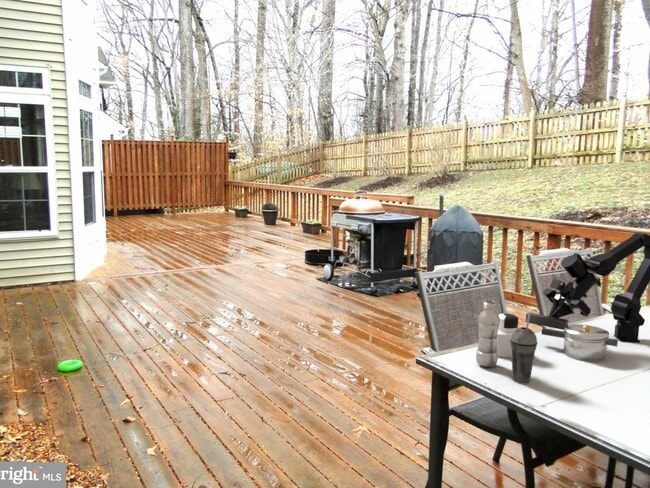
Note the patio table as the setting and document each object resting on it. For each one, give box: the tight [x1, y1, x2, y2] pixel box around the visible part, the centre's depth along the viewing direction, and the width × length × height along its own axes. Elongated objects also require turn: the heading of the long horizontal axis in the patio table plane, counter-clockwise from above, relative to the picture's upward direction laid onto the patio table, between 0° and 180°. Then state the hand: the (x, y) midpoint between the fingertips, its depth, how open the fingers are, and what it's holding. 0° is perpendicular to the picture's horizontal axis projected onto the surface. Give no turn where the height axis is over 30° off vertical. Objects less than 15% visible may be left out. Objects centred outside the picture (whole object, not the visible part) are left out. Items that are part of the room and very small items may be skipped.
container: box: [497, 313, 519, 358], centre depth 167 cm, size 8×8×13 cm
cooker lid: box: [525, 312, 610, 341], centre depth 170 cm, size 26×13×3 cm, turn 48°
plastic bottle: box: [475, 300, 500, 368], centre depth 156 cm, size 6×7×20 cm
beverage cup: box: [510, 311, 538, 385], centre depth 145 cm, size 7×7×20 cm
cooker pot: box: [540, 327, 619, 363], centre depth 168 cm, size 22×13×7 cm, turn 57°
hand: (549, 319), depth 176 cm, fingers closed
